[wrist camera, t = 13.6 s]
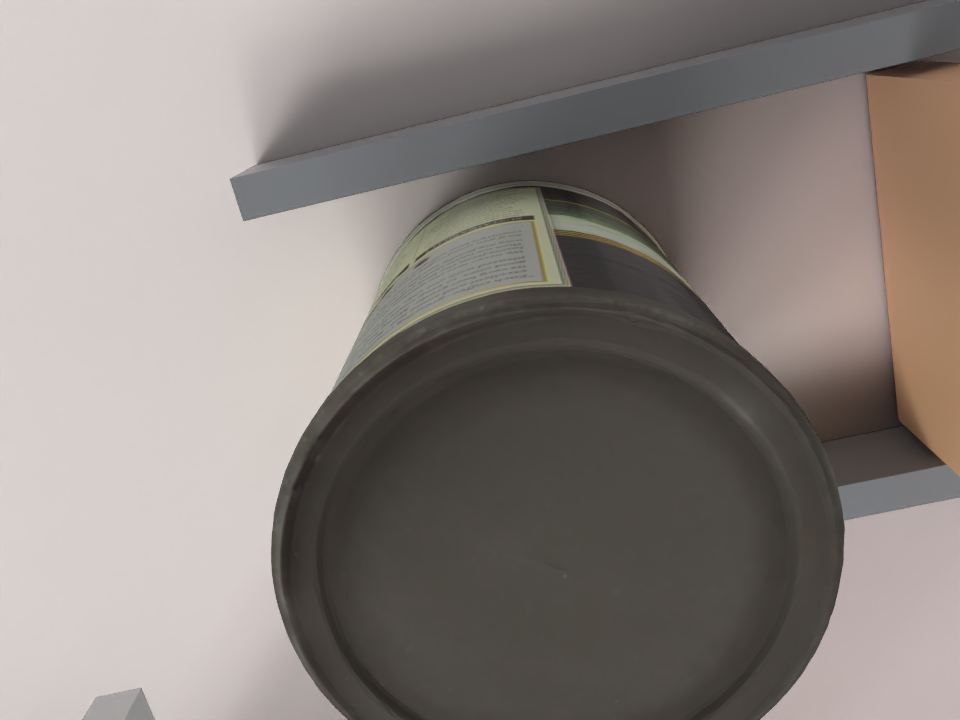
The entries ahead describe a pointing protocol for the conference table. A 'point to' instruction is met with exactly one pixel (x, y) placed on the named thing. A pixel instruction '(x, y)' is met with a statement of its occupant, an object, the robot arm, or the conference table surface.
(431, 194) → the conference table surface
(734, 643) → the coffee can
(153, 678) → the conference table surface
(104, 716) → the robot arm
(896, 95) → the block
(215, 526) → the conference table surface
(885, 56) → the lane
